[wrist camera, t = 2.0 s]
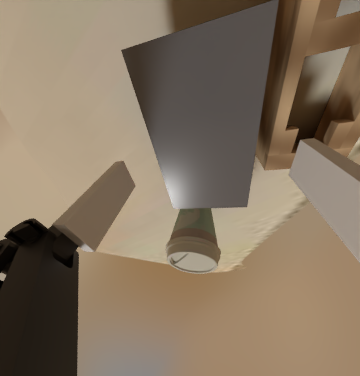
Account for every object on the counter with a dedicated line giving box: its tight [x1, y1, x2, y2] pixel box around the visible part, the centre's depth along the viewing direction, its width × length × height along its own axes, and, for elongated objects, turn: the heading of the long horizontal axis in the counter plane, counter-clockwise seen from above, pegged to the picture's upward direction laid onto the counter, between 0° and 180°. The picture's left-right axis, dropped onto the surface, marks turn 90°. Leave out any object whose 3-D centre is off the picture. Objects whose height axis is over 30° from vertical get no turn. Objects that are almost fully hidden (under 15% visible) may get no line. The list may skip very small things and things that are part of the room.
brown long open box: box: [255, 0, 360, 170], centre depth 11 cm, size 22×8×4 cm, turn 11°
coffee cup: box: [166, 208, 221, 274], centre depth 25 cm, size 8×8×12 cm
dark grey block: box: [121, 0, 279, 209], centre depth 16 cm, size 15×9×8 cm, turn 11°
